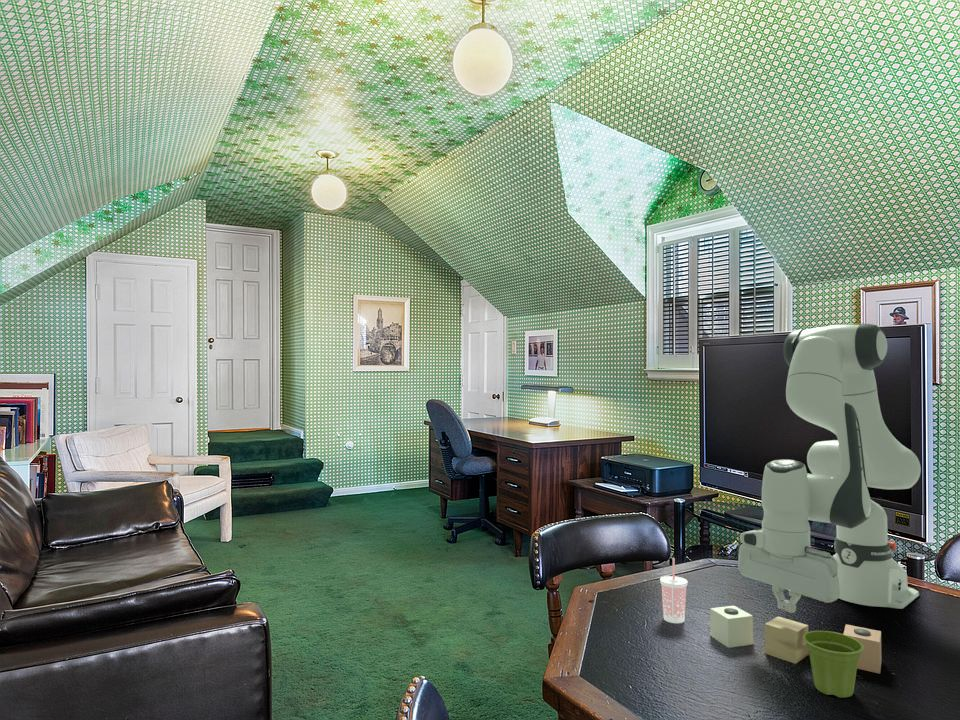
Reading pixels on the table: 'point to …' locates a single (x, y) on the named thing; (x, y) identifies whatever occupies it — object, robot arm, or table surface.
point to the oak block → (786, 639)
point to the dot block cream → (731, 626)
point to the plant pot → (833, 661)
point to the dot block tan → (867, 647)
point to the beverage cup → (673, 597)
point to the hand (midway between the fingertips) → (786, 610)
